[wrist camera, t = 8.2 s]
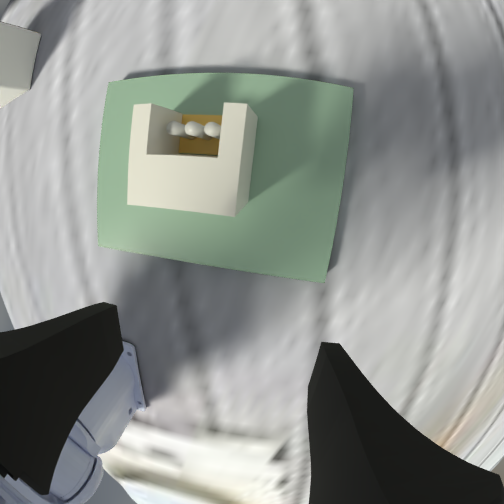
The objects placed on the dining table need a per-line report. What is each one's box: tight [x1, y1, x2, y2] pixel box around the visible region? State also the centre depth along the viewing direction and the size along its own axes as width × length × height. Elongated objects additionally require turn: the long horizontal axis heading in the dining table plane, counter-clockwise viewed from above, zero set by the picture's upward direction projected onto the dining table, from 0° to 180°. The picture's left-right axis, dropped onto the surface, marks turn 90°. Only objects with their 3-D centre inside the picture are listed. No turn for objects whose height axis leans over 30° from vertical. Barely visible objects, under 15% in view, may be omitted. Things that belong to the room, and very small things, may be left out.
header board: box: [97, 73, 353, 283], centre depth 15 cm, size 12×16×4 cm
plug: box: [127, 102, 258, 217], centre depth 13 cm, size 5×6×4 cm
